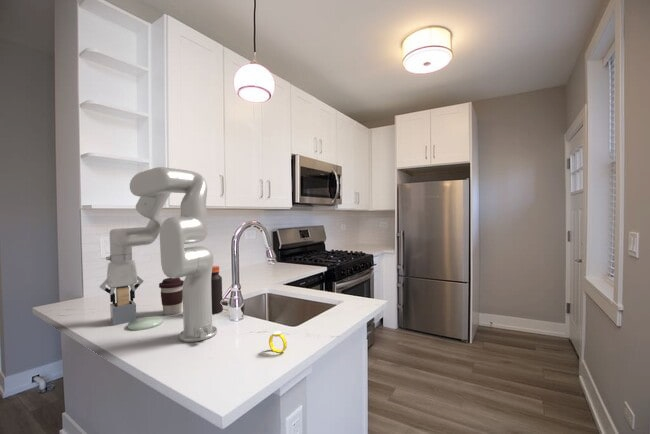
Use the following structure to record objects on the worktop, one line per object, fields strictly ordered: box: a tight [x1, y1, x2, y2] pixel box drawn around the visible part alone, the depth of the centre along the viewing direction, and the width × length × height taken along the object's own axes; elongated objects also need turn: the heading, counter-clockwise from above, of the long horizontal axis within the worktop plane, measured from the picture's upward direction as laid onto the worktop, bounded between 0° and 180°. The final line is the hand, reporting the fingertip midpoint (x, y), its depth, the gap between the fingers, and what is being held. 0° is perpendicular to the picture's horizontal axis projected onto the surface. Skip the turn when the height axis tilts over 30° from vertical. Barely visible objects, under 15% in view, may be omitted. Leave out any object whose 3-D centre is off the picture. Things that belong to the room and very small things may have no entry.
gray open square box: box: [109, 299, 137, 326], centre depth 127 cm, size 8×8×7 cm
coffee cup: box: [158, 277, 184, 316], centre depth 136 cm, size 10×10×15 cm
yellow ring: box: [268, 330, 288, 354], centre depth 95 cm, size 6×3×6 cm, turn 61°
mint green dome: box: [127, 315, 164, 331], centre depth 121 cm, size 12×12×1 cm
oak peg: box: [115, 286, 130, 307], centre depth 126 cm, size 4×4×14 cm
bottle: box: [211, 265, 224, 315], centre depth 135 cm, size 7×7×20 cm
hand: (122, 301), depth 126 cm, fingers open, 5 cm apart
